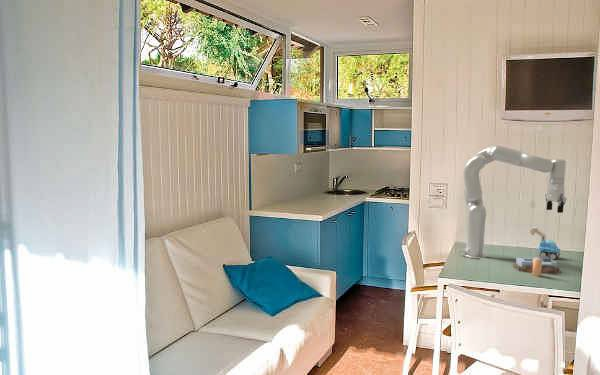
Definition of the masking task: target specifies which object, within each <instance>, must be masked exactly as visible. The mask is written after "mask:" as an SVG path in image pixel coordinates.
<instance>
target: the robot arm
mask: <svg viewBox="0 0 600 375" xmlns="http://www.w3.org/2000/svg"><path fill="white" fill-rule="evenodd" d="M494 161H498V162H500V163H501V162H502V163H505V164H508V165H511V166H517V167H521V168H525V169H529V170H534V171H538V172H541V173H549V182H548V185H547V188H546V194H545V201H546V208H545V209H546V211H551V210H553V202H555V203H557V204H558V205H557V210H556V211H557V214H560V213H562V214H563V213H564V206H565V204H566V202H567V201H568V200H567V197H565V177H566V165H567V162H566V160H565V159H560V158H559V159H558V158H557V159H556V158H554V159H551V158H544V157H540V156H536V155H534V154H529V153H527V152H524V151H522V150H516V149H513V148H509V147H505V146H502V145H497V144H494V145H491V146H489V147H487V148H485V149H483V150H480V151H479V152H476V153H474V154H473V155H471V157H470V158H469V160H468V162H466V164H465V166H464V169H463V180H464V187H465V189H464V198H465V199H464V200H465V204H466V210H467V213H468V217H467V218H468V219H467V233H466V247H464V248H458V249H457V252H458V253H461V254H463V256H464V257H465V258H469V259H475V260H476V259H479V260H480V259H485V258H487V256H486V254H485V253H484V247H485V230H486V229H485V228H486V218H487V209H486V207H485V206H484V203H483V197H482V196H483V190H482V186H481V181H480V179H481V178H480V172H481V170H483V169H484V168H485V166H486V165H488V164H491V163H492V162H494Z"/></svg>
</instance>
